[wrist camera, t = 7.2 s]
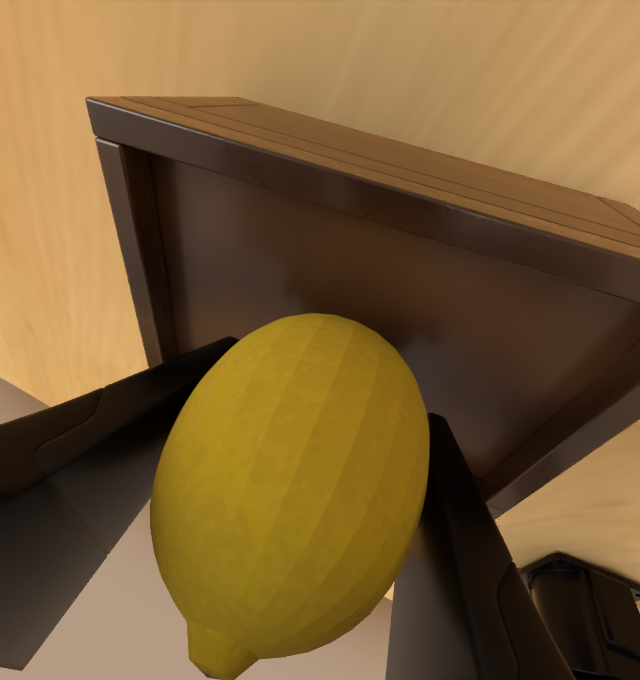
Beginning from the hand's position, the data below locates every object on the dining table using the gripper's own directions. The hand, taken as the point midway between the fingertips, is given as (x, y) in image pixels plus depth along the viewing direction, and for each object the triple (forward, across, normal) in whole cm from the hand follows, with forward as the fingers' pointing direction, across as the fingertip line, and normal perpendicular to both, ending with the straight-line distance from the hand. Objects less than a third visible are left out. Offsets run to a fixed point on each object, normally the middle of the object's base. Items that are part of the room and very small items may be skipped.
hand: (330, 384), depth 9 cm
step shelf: (+8, 0, +5) cm, 9 cm away
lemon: (+2, 0, 0) cm, 2 cm away
